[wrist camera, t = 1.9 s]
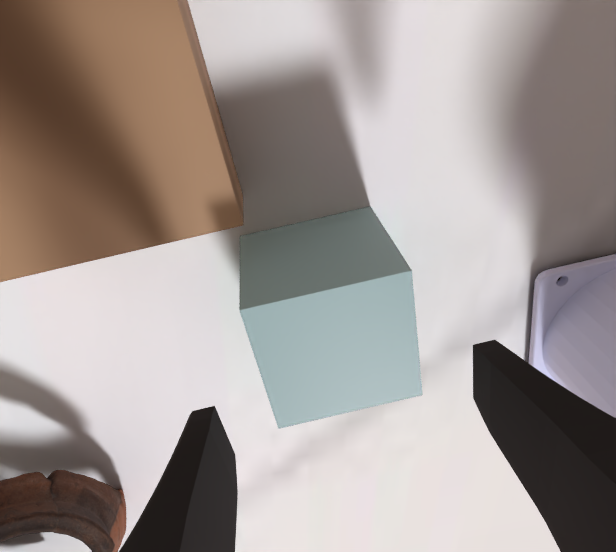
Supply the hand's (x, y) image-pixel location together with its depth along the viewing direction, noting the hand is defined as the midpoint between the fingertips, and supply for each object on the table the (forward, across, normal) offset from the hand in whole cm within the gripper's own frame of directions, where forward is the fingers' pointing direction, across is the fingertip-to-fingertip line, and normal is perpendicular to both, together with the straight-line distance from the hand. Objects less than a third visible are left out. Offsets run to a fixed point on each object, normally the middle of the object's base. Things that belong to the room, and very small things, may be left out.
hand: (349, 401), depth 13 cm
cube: (+7, 0, 0) cm, 7 cm away
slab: (+7, +6, -8) cm, 12 cm away
